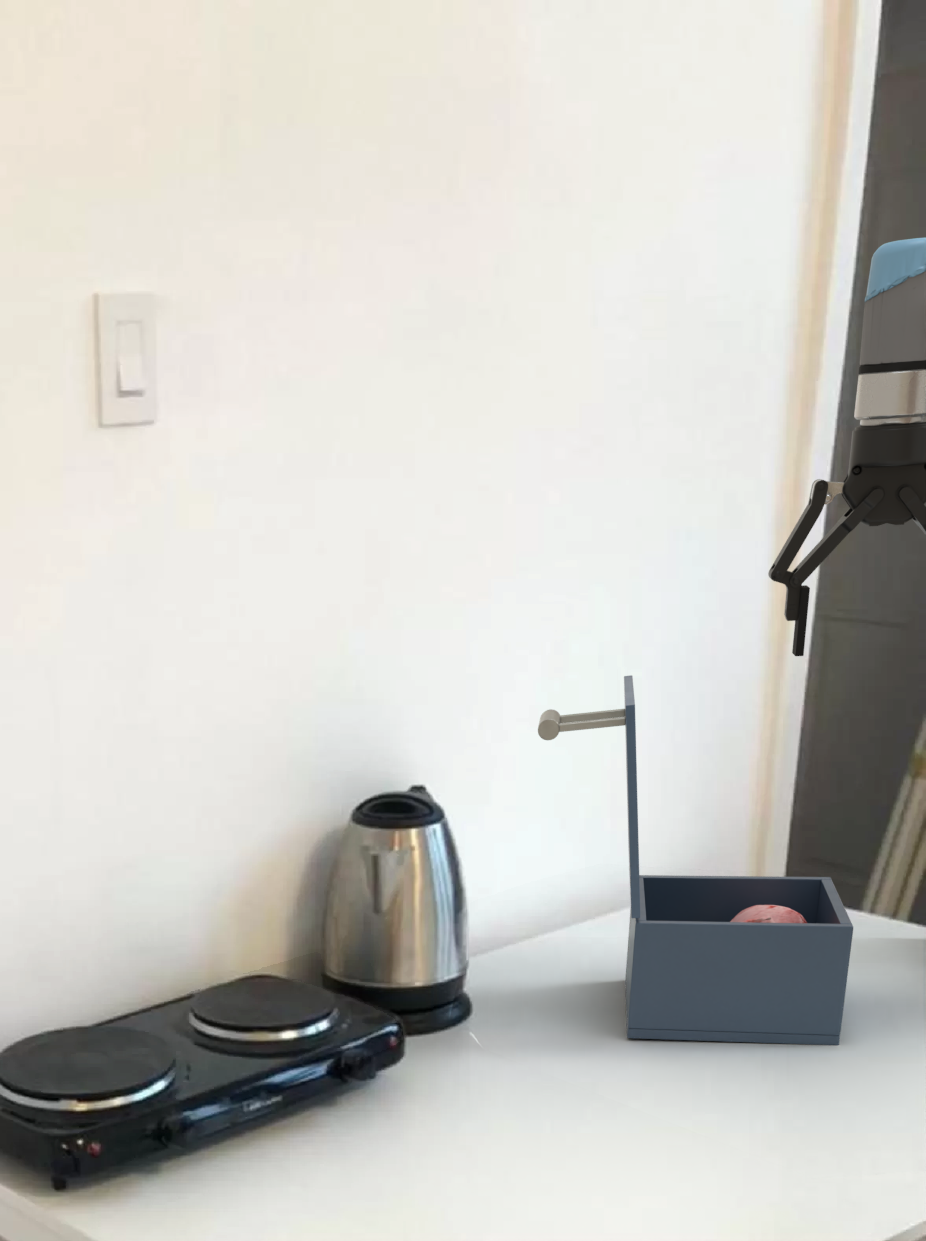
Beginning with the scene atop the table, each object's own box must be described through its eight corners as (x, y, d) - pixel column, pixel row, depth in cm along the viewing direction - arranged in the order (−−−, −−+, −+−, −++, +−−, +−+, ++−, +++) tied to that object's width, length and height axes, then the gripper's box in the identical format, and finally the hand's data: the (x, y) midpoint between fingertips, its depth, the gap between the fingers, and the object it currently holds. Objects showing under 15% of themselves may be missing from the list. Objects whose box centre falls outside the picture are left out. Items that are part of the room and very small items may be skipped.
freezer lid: (632, 675, 177) (540, 685, 180) (634, 704, 161) (534, 715, 163) (637, 870, 184) (549, 877, 187) (640, 917, 168) (543, 924, 170)
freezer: (817, 986, 184) (830, 876, 179) (838, 1045, 167) (853, 926, 163) (625, 981, 189) (632, 874, 185) (626, 1038, 172) (635, 922, 168)
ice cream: (651, 1002, 175) (806, 945, 167) (635, 927, 180) (785, 868, 173) (690, 1057, 182) (841, 1004, 175) (673, 982, 188) (819, 928, 180)
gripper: (1032, 411, 169) (1001, 642, 177) (752, 429, 176) (734, 651, 184) (1051, 411, 163) (1018, 651, 171) (760, 431, 169) (741, 661, 177)
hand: (871, 652), depth 177 cm, fingers open, 13 cm apart
